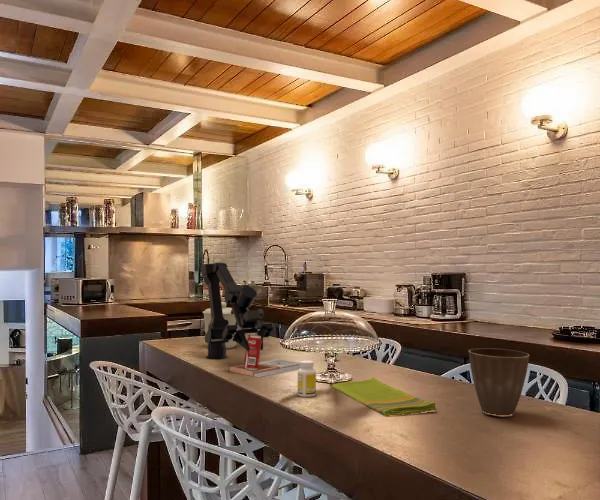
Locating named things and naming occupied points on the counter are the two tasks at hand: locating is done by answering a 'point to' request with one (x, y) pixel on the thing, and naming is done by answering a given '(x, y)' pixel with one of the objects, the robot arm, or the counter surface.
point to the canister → (227, 316)
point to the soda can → (253, 352)
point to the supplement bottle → (306, 379)
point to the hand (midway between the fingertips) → (255, 349)
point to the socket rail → (268, 368)
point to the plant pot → (498, 378)
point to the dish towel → (383, 397)
